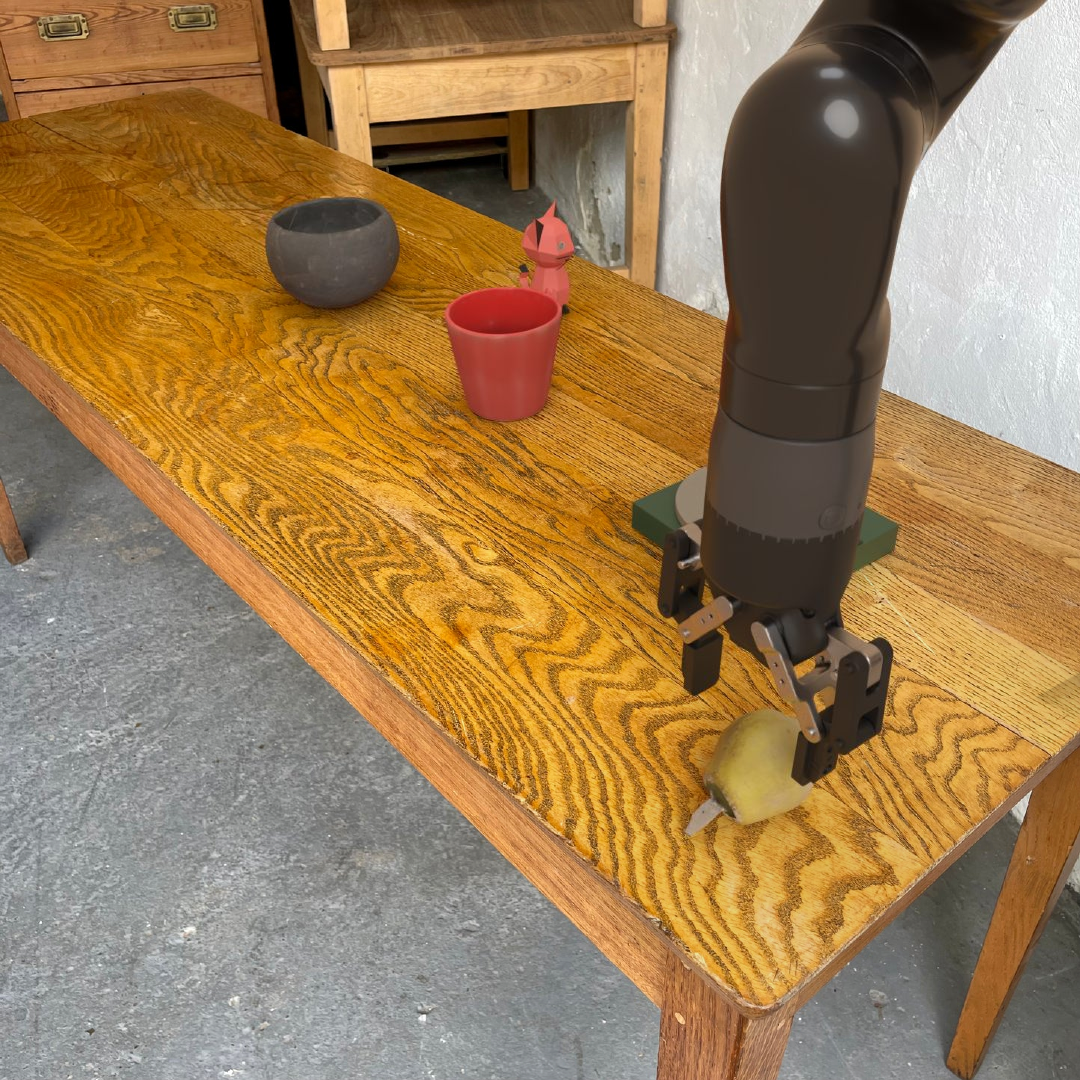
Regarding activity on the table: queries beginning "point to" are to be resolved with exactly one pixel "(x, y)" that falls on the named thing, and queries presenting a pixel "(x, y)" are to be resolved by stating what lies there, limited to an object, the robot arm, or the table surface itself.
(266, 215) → the table surface
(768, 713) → the fruit
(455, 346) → the flower pot
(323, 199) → the bowl
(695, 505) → the scale
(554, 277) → the cat figurine
